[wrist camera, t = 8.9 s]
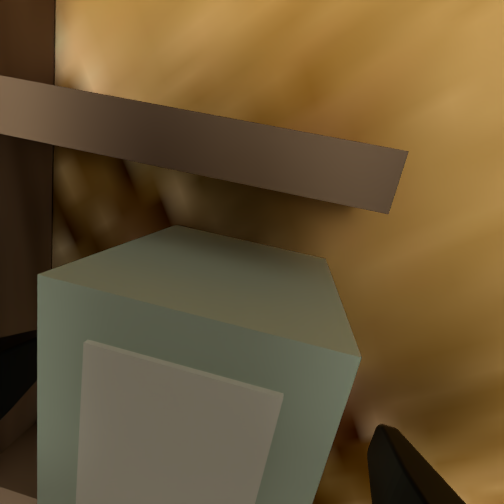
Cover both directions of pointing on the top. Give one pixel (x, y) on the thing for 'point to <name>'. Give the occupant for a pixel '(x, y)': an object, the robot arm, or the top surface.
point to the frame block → (189, 373)
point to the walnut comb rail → (138, 150)
